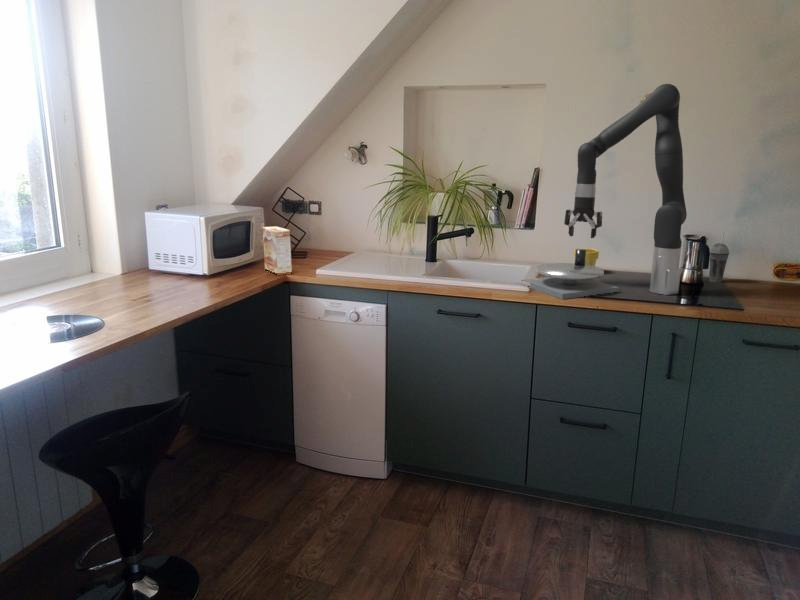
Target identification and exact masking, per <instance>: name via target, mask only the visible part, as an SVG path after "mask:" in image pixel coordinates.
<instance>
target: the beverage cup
mask: <svg viewBox="0 0 800 600" xmlns="http://www.w3.org/2000/svg"><path fill="white" fill-rule="evenodd" d="M724 237H725V231H724V232H722V236H721V240H720V242H719V243H718V242H717V243H714V245H712V246H711V247H710V249H709V252H710V253H709V254H710V256H709V270H708V271H709V273H708V274H709V282H711V283H722V281H723V279H724V273H725V271H726V270H725V269H726V266H727V265H726V264H727V262H728V258H729V255H730V249H729V247H728V246H727V245H726V244H725V243H724V242H723V241H724Z"/></svg>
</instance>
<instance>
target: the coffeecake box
mask: <svg viewBox="0 0 800 600" xmlns="http://www.w3.org/2000/svg"><path fill="white" fill-rule="evenodd" d="M262 242H263V256H264V257H263V260H264V270H265V269H267V270H270V271H272V272H275V273H286V272H292V271H293V270H292V269H293V268H292V252H291V251H292V249H291V248H292V247H291V230H290V229H287V228H284V227H280V226H277V225H276V226H275V225H274V226H263V227H262ZM292 273H293V272H292Z"/></svg>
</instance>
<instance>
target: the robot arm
mask: <svg viewBox="0 0 800 600" xmlns="http://www.w3.org/2000/svg"><path fill="white" fill-rule="evenodd" d="M680 102H681V94H680V91H679V89H678V87H677V86H675V85H674V84H671V83H663V84H661V85H658V86H657V87H656V88H655V89H654V90H653V92H651V93H650V95H648V96H647V97H646V98H645V99H644V100H643V101H642V102H640V103H639V104H638V105H637V106H636V107H635V108H633V109H631V111H629V112H627V113H626V114H625V115H624V116H622V117H620V118H619V119H617V120H616V121H614V122H613V123H612V124H611V125H609V126H608V127H606V128H605V129H603V130H602V131H601V132H600V133H599V134H598V135H597V136H595V137H594V138H593V139H591V140H590V141H588V142H584V143H583V144H581V145H580V146H579V147H578V150H577V175H576V176H577V177H576V186H575V192H574V209H569V208H568V209H566V210H565V216H564V222H563V224H564V225H565V226H567V227H568V235H569V237H574V234H575V233H574V232H575V231H574V229H575V226H574V225H576V223H577V222H582V223H588V224H589V226H590V227H591V230H590V231H591V232H590V239H595V237H597V229H598V228H601V227H602V226H603V211H595V205H596V204H595V203H596V190H597V188H596V185H597V184H596V182H597V170H596V166H597V165H596V164H597V159H598V158H599V157H600V156H601V155H603V154H604V153H605V152H606V151H608V150H609V149H611V148H612V147H614V146H615V145H617V144H619V143H620V142H621V141H623V140H625V138H627V137H629V135H631V134H632V133H633V132H634V131H635V130H636V129H638V128H639V127H640V126H641V125H643V124H644V123H645V122H647V121H648V120H650V119H651V118H654V116H655V121H656V134H655V141H654V142H655V143H654V145H655V146H654V160H655V161H654V163H655V172H656V175H657V179H658V181H659V184H660V188H661V194H662V195H661V196H662V199H661V201H662V202H661V206H660V207H659V208H658V209H657V210H656V213H655V217H654V226H653V227H654V229H653V239H654V240H653V241H654V244H653V245H654V246H653V253H652V263H651V266H652V267H651V274H650V282H649V283H650V284H649V286H650V287H649V292H650V293H653V294H660V295H666V296H668V295H677V294H679V291H680V289H679V288H680V282H681V281H680V280H681V272H682V268H680V260H681V253H682V252H681V251H682V244H683V243H682V239H681V232H682V225H683V224H684V223H685V221H686V219H687V215H688V214H687V213H688V212H687V207H686V202H685V195H684V159H683V158H684V157H683V145H682V144H683V143H682V136H681V131H680V126H679V124H680V123H679V117H680V116H679V113H680ZM572 215H573V216H574V217H573V219H571V216H572ZM594 216H595V218H596V221H595V220H594V218H593V217H594Z"/></svg>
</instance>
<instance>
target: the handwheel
mask: <svg viewBox="0 0 800 600" xmlns="http://www.w3.org/2000/svg"><path fill="white" fill-rule="evenodd" d="M585 249H586V248H576V252H575V258H574V262H554V263H553V262H549V263H543V264H539V265H537V266H536V273H537V274H539V275H541V276H544V277H552V278H560V279H576V280H581V279H591V280H594V279H598V278H603V276H604V273H605V271H604V269H603V268H602V267H599V266H596V265H595V266H591V265H585V259H586V250H585Z"/></svg>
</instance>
